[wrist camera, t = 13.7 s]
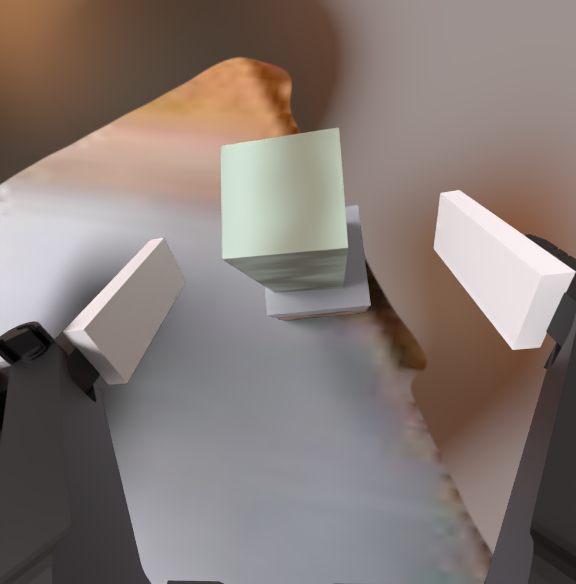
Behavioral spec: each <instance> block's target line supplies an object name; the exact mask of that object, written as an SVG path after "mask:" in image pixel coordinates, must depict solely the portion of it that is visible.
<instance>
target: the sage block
mask: <svg viewBox="0 0 576 584" xmlns="http://www.w3.org/2000/svg"><path fill="white" fill-rule="evenodd" d="M221 205H222V259H223V260H224V261H226V262H227V263H229V264H230V265H232V266H234V267H235V268H237V269H238V270H240V271H241V272H243V273H245V274H246V275H248V276H249V277H251V278H252V279H254V280H256V281H257V282H259V283H260V284H262V285H263V286H265V287H267V288H268V289H270V290H271V291H273V292H274V293H277V292H292V291H307V290H321V289H336V288H343V285H344V277H345V269H346V261H347V253H348V239H347V226H346V213H345V201H344V188H343V175H342V162H341V149H340V136H339V128H332V129H327V130H320V131H313V132H308V133H301V134H294V135H288V136H282V137H275V138H269V139H262V140H256V141H250V142H243V143H237V144H231V145H224V146H221Z"/></svg>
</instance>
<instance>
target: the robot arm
mask: <svg viewBox="0 0 576 584" xmlns="http://www.w3.org/2000/svg"><path fill="white" fill-rule="evenodd" d="M434 250H435V251H436V252H437V254H438V255H439V256H440V257H441V259H442V260H443V261H444V262H445V264H446V265H447V266H448V268H449V269H450V270H451V272H452V273H453V274H454V275H455V277H456V278H457V279H458V281H459V282H460V283H461V284H462V286H463V287H464V288H465V289H466V291H467V292H468V293H469V295H470V296H471V297H472V298H473V300H474V301H475V302H476V304H477V305H478V306H479V307H480V309H481V310H482V311H483V312H484V314H485V315H486V316H487V318H488V319H489V320H490V321H491V323H492V324H493V325H494V327H495V328H496V329H497V330H498V332H499V333H500V334H501V335H502V337H503V338H504V339H505V341H506V342H507V343H508V345H509V346H510V347H511V348H512V350H517V349H528V348H540V347H541V344H542V342H543V340H544V338H545V336H546V334H547V333H548V334H549V335H550V336H551V337H552V338H553V339H554V340H555V341H556V342H557V343H556V345H555V347H554V349H553V351H552V352H551V354H550V356H549V358H548V360H547V362H546V364H545V366H544V368H546V369H547V371H546V374H545V378H544V382H543V385H542V388H541V392H540V395H539V399H538V402H537V406H536V409H535V413H534V416H533V419H532V424H531V427H530V430H529V434H528V437H527V440H526V444H525V447H524V451H523V454H522V458H521V461H520V465H519V468H518V471H517V475H516V478H515V482H514V485H513V489H512V492H511V496H510V499H509V503H508V506H507V510H506V513H505V516H504V520H503V523H502V527H501V531H500V534H499V537H498V541H497V544H496V548H495V551H494V554H493V558H492V561H491V565H490V568H489V571H488V574H487V577H486V580H485V582H484V584H576V259H575V258H573V257H572V256H568V254H567V253H565V252H564V251H562V250H561V249H558V247H556V246H555V245H553V244H552V243H550V242H549V241H547V240H545V239H542V238H539V237H536V236H533V235H530V234H528V235H523V234H521V233H520V232H518V231H517V230H515V229H514V228H513V227H511V226H510V225H508V224H507V223H505V222H504V221H503V220H501V219H500V218H498V217H497V216H495V215H494V214H492V213H491V212H490V211H488V210H487V209H485V208H484V207H483V206H481V205H480V204H478V203H477V202H475V201H474V200H473V199H471V198H470V197H468V196H467V195H465V194H464V193H462V192H461V191H460V190H457V191H451V192H444V193H441V194H440V202H439V210H438V218H437V226H436V234H435V242H434ZM184 284H185V280H184V278H183V276H182V274H181V272H180V270H179V268H178V265H177V263H176V261H175V259H174V257H173V255H172V253H171V251H170V249H169V246H168V244H167V242H166V240H165V238H159V239H152V240H150V241H149V242H148V243H147V244H146V245H145V246H144V247H143V248H142V249H141V250H140V251H139V252H138V253H137V254H136V255H135V256H134V257H133V259H132V260H131V261H130V262H129V263H128V264H127V265H126V266H125V267H124V268H123V269H122V270H121V271H120V272H119V273H118V274H117V275H116V276H115V277H114V278H113V280H112V281H111V282H110V283H109V284H108V285H107V286H106V287H105V288H104V289H103V290H102V291H101V292H100V293H99V294H98V295H97V296H96V297H95V298H94V299H93V300H92V301H91V302H90V303H89V304H88V305H87V306H86V307H85V308H84V309H83V311H82V312H81V313H80V314H79V315H78V316H77V317H76V318H75V319H74V320H73V321H72V322H71V323H70V324H69V325H68V326H67V327H66V328H65V329H64V330H63V331H62V333H61V334H60V335H59V336H58V337H57V338H56V339H55V340H54V339H53V338H52V337H51V336H50V334H49V333H48V332H47V331H46V330H45V329H44V328H43V327H42V326H41V325H40V324H39V323H38V322H29V323H25V324H22V325H19V326H17V327H15V328H13V329H11V330H9V331H8V332H6V333H5V334H3V335H2V336H0V356H1V357H2V358H3V359H4V360H5V361H7V362H0V584H151V582H150V581H149V579H148V578H147V576H146V575H145V573H144V571H143V568H142V565H141V562H140V558H139V553H138V549H137V545H136V541H135V536H134V532H133V528H132V524H131V520H130V515H129V511H128V507H127V503H126V498H125V494H124V490H123V486H122V482H121V477H120V473H119V469H118V465H117V460H116V456H115V452H114V448H113V444H112V439H111V435H110V431H109V427H108V423H107V418H106V414H105V410H104V406H103V401H102V397H101V393H100V389H99V388H98V386H97V385H96V384H95V383H94V382H95V381H96V379H97V378H98V376H99V375H100V376H101V377H102V378H103V379H104V380H105V381H106V382H107V384H108V385H113V384H125V383H128V381H129V379H130V378H131V376H132V374H133V372H134V371H135V369H136V367H137V365H138V364H139V362H140V360H141V359H142V357H143V355H144V353H145V352H146V350H147V348H148V346H149V345H150V343H151V341H152V340H153V338H154V336H155V334H156V333H157V331H158V329H159V327H160V326H161V324H162V322H163V320H164V319H165V317H166V315H167V314H168V312H169V310H170V308H171V307H172V305H173V303H174V301H175V300H176V298H177V296H178V295H179V293H180V291H181V289H182V288H183V286H184ZM167 584H223V583H221V582H219V581H168V582H167Z"/></svg>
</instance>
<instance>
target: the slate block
mask: <svg viewBox="0 0 576 584" xmlns="http://www.w3.org/2000/svg"><path fill="white" fill-rule="evenodd" d="M345 213H346V226H347V239H348V253H347V261H346V269H345V277H344V285H343V288H336V289H321V290H307V291H292V292H277V293H274V292H273V291H271V290H270V289H268V288H267V287H265V286H264V288H265V302H266V315H267V316H270V317H274V318H280V317H291V316H301V315H312V314H322V313H333V312H343V311H353V310H364V309H367V308H368V307H369V306H371V303H370V295H369V287H368V280H367V272H366V264H365V257H364V249H363V243H362V242H363V241H362V234H361V226H360V218H359V210H358V205H353V206H347V207H345Z"/></svg>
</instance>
